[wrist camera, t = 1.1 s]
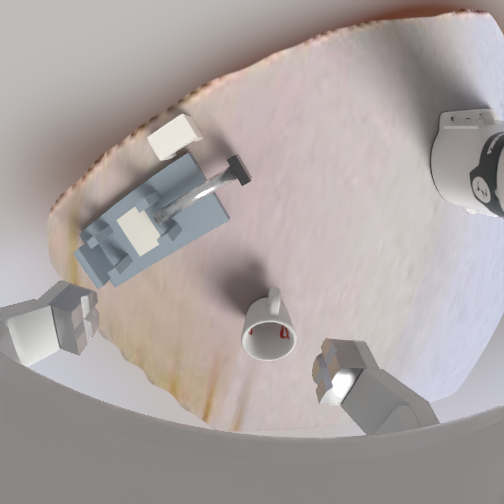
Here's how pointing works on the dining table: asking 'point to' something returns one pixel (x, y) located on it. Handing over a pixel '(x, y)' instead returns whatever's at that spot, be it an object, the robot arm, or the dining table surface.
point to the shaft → (205, 189)
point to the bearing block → (147, 225)
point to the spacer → (174, 136)
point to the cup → (268, 329)
